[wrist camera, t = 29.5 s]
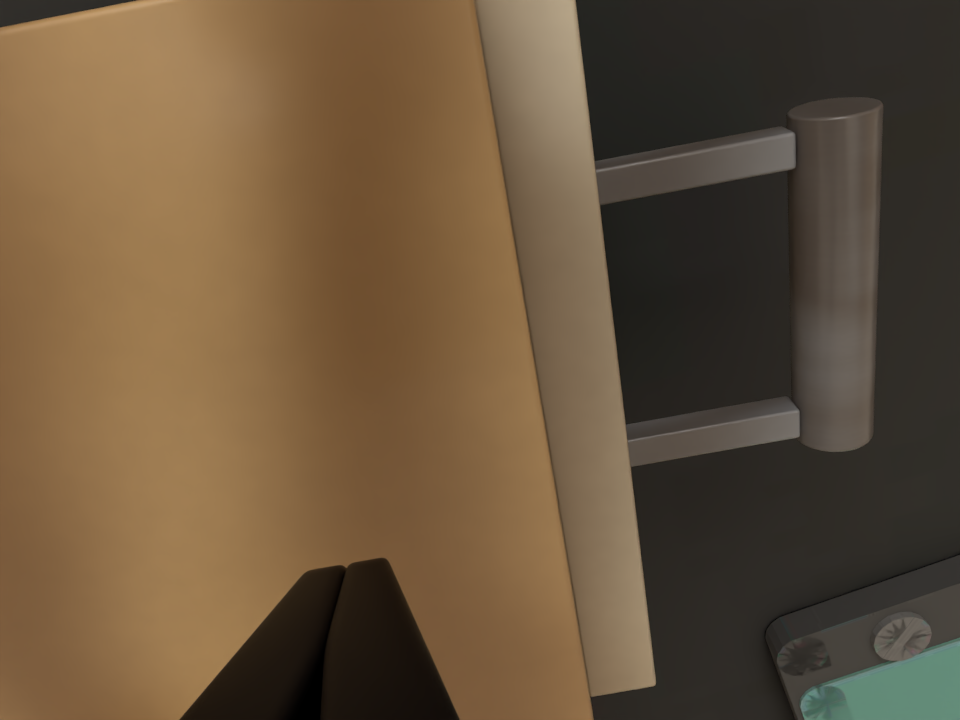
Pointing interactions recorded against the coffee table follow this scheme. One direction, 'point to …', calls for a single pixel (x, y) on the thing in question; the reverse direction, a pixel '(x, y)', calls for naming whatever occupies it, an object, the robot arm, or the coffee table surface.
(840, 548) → the coffee table surface
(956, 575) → the smartphone
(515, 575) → the cabinet
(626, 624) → the drawer
